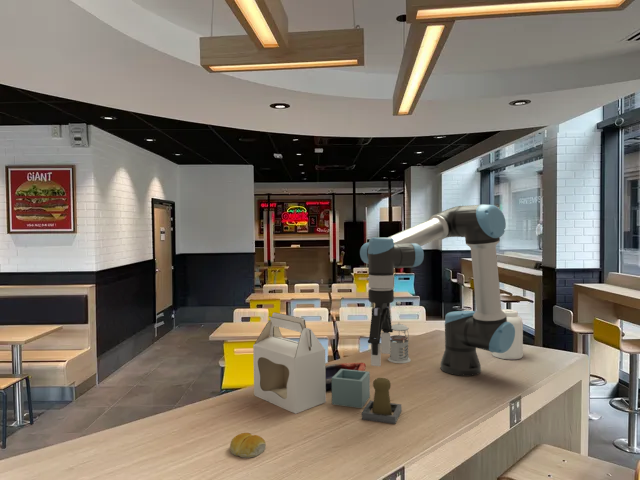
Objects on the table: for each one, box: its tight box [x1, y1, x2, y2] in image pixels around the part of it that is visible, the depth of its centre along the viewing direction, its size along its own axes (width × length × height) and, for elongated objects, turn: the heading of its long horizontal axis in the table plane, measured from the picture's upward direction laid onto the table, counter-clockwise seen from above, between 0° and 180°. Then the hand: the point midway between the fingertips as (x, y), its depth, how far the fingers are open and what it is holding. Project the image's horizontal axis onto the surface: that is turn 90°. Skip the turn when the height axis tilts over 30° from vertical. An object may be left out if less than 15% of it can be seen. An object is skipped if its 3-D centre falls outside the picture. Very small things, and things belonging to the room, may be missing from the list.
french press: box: [387, 301, 412, 364], centre depth 194 cm, size 10×12×25 cm
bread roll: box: [229, 432, 267, 459], centre depth 117 cm, size 8×9×4 cm
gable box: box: [252, 312, 327, 415], centre depth 151 cm, size 22×13×28 cm, turn 44°
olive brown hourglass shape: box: [371, 377, 393, 415], centre depth 137 cm, size 6×6×11 cm
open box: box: [331, 369, 371, 409], centre depth 149 cm, size 10×10×8 cm
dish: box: [325, 362, 367, 391], centre depth 167 cm, size 16×31×5 cm, turn 124°
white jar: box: [491, 308, 524, 360], centre depth 197 cm, size 12×12×20 cm
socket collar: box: [361, 400, 403, 425], centre depth 137 cm, size 10×10×2 cm
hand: (380, 359), depth 137 cm, fingers open, 13 cm apart
